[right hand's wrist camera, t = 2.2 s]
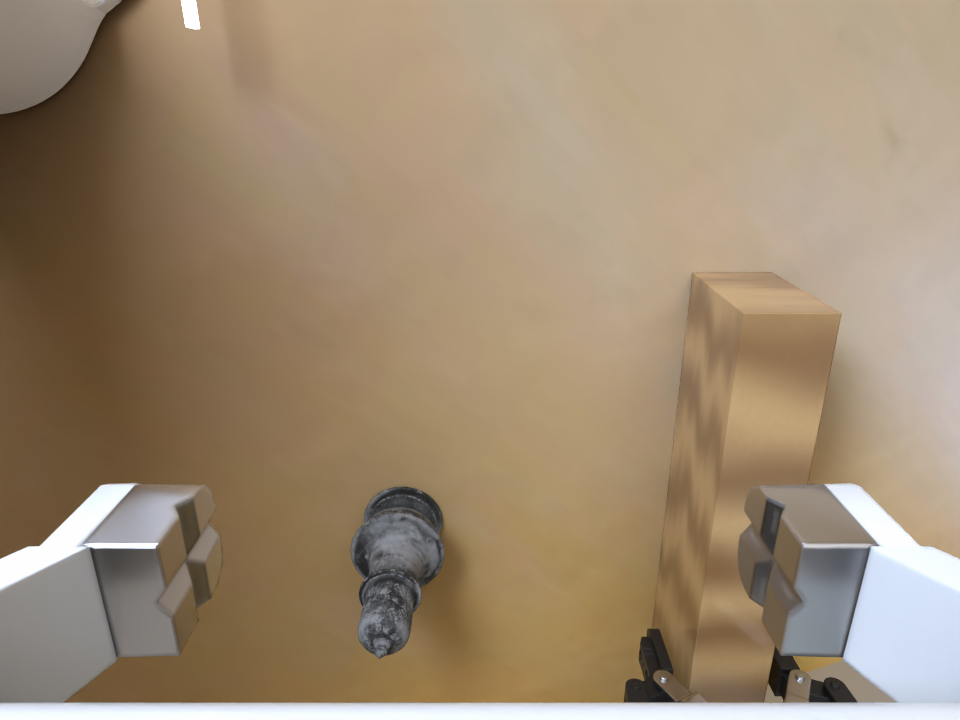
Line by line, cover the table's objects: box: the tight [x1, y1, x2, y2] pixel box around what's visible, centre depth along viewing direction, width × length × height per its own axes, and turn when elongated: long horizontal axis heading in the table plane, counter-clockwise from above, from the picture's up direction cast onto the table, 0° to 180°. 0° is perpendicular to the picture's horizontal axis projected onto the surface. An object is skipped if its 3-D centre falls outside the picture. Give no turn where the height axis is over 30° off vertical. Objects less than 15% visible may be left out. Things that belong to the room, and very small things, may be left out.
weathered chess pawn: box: [351, 487, 444, 658], centre depth 40 cm, size 6×6×12 cm
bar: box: [652, 272, 841, 703], centre depth 41 cm, size 27×5×8 cm, turn 0°
